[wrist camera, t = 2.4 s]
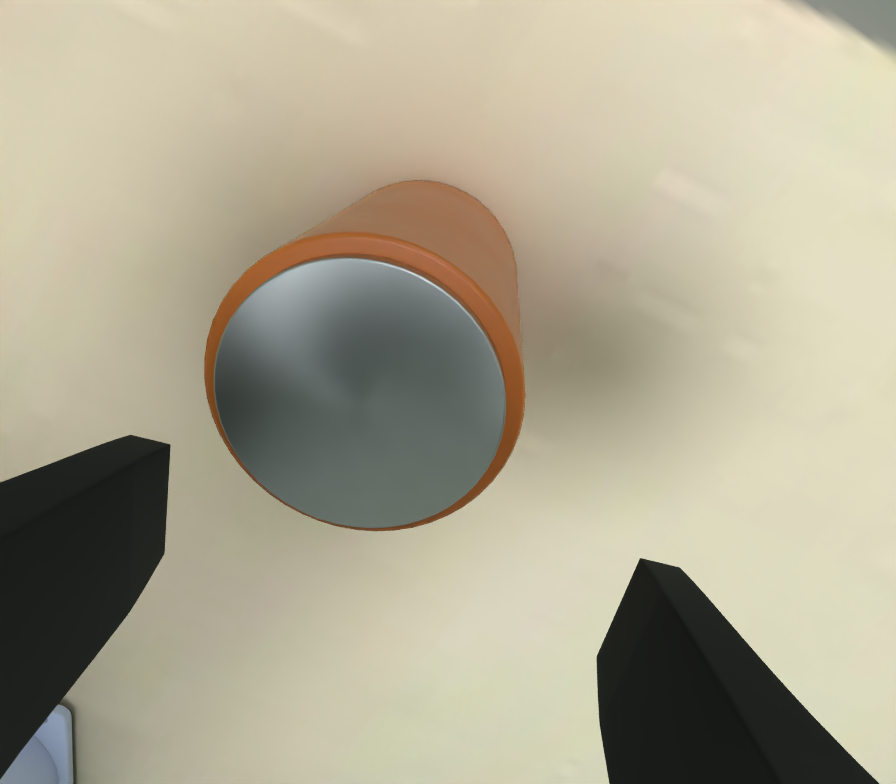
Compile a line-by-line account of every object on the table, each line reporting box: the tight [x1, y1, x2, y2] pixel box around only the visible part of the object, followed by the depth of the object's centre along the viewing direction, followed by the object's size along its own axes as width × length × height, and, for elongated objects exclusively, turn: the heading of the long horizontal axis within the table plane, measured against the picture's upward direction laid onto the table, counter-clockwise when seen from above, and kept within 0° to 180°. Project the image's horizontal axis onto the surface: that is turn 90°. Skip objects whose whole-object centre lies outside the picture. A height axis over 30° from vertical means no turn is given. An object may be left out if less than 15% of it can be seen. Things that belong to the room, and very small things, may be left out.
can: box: [205, 181, 525, 531], centre depth 14 cm, size 5×5×8 cm
